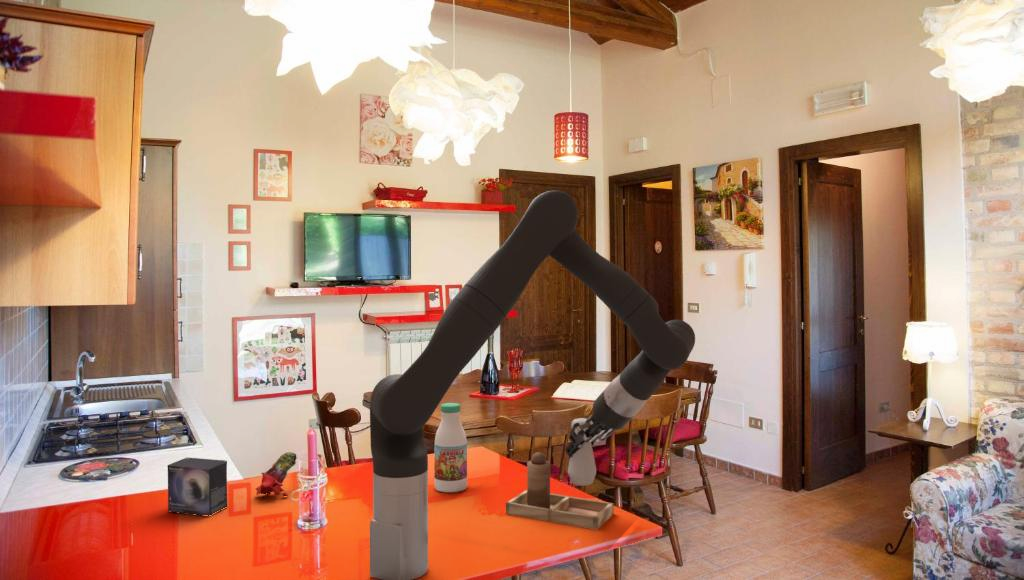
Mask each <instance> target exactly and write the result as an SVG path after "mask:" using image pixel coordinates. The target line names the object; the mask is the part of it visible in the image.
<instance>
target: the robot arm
mask: <svg viewBox="0 0 1024 580" xmlns="http://www.w3.org/2000/svg"><path fill="white" fill-rule="evenodd" d="M578 211H579V209H578V207H577V203H576V202H575V200H574V198H573V197H572V196H571V195H570V194H568V193H567V192H565V191H562V190H554V189H553V190H549V191H548V190H547V191H545V192H543V193H539V195H537V196H536V197H535V198H533V200H532V201H531V202H530V204H529V205H528V208H527V210H526V211H525V213H524V214H523V215H522V217H521V219H520V220H519V222H518V224H516V227H515V228H514V230H513V231H511V234H510V235H509V236H508V237H507V239H506V240H505V241H504V243H503V244H501V246H500V247H499V248H498V249H497V250H496V251H495V252H494V253H493V254H491V256H490V257H489V258H488V259H487V260H486V261H485V262H484V263H483V264H481V266H480V267H479V269H477V271H475V272H474V274H473V275H472V276H471V277H469V280H468V281H467V282H465V284H464V285H463V286H462V288H461V289H460V290H459V291H458V293H457V294H455V296H454V297H453V298H452V300H451V301H450V303H449V304H448V305H447V306H446V307H445V310H444V312H443V313H442V315H441V316H440V317H441V318H440V319H439V321H438V323H437V325H436V327H435V330H434V332H433V334H432V336H431V337H430V340H429V341H428V344H427V345H426V347H425V348H424V349H423V351H422V353H421V354H420V355H419V356H418V357H417V358H416V360H414V362H413V363H411V365H410V366H409V367H408V368H407V369H406V370H405V371H404V372H403V374H400V373H399V374H398V373H395V374H390V375H387V376H385V377H384V378H382V379H380V380H379V381H378V382H377V383H376V384H375V386H374V388H373V389H372V392H371V395H370V401H369V424H370V425H369V431H370V436H369V437H370V452H371V457H372V466H373V467H372V515H373V516H372V519H371V520H370V522H369V577H371V578H373V579H379V580H414V579H418V578H420V577H423V576H424V575H426V573H427V572H428V570H429V459H428V458H429V456H428V452H427V448H426V445H425V439H424V426H425V425H426V424H427V422H429V420H430V419H431V417H432V416H433V414H434V412H435V411H436V409H437V408H438V407H439V405H440V402H441V401H442V400H443V398H444V397H445V394H446V393H447V392H448V390H449V389H450V387H451V386H452V384H453V382H454V381H455V380H456V379H457V377H458V376H459V374H460V373H461V372H462V371H463V370H464V369H465V368H466V367H467V365H468V364H469V362H471V361H472V359H474V357H475V356H476V355H477V354H478V352H479V351H480V350H481V349H482V348H483V346H484V344H485V343H486V342H487V341H488V340H489V339H490V338H491V337H492V335H493V334H494V333H495V332H496V331H497V329H498V328H499V326H500V325H501V324H502V323H503V321H504V320H505V319H506V318H507V316H508V315H510V312H511V311H512V309H513V308H514V306H516V303H517V302H518V301H519V299H520V297H521V296H522V294H523V293H524V290H525V289H526V288H527V286H528V283H529V282H530V280H531V278H533V276H534V274H535V272H536V271H537V269H538V268H539V267H540V266H541V264H542V263H543V262H544V261H545V259H546V258H548V256H549V257H550V258H552V259H553V260H555V261H556V262H557V263H559V264H560V265H562V267H564V268H565V269H566V270H567V271H569V272H570V273H571V274H572V275H574V276H575V277H576V278H577V279H578V280H579V281H580V282H581V283H582V284H584V285H585V286H586V287H587V288H588V289H589V290H591V292H592V293H593V294H595V296H596V297H597V298H598V299H599V300H600V301H601V302H602V303H604V305H605V306H606V307H607V309H609V310H610V311H611V312H612V313H613V314H614V315H615V316H616V317H617V318H618V319H619V320H620V321H621V322H622V323H623V324H624V325H626V327H627V328H628V329H629V331H630V333H631V334H632V336H633V338H634V339H635V341H636V342H637V344H638V345H639V346H640V348H641V351H640V353H638V354H637V355H636V356H635V357H634V358H633V360H631V361H630V362H629V363H628V364H627V365H626V366H625V368H624V369H623V370H622V371H621V372H620V373H619V374H618V375H617V376H616V377H615V378H614V379H612V381H610V383H609V384H608V385H607V386H606V387H605V388H604V390H603V391H602V392H600V394H599V395H598V397H597V398H596V399H595V400H594V401H593V403H592V414H590V415H589V416H588V417H587V418H586V419H587V420H586V422H585V423H584V424H583V425H581V426H580V424H579V423H575V424H574V425H573V428H571V431H570V432H569V435H568V440H569V441H570V443H569V444H568V445H566V447H565V449H564V450H565V453H566V454H567V456H568V457H569V458H570V457H572V455H573V454H575V453H576V451H578V450H579V449H581V448H582V447H583V446H584V445H585V444H586V443H587V442H591V445H592V447H593V446H594V445H596V444H598V443H599V442H600V441H601V442H603V441H605V440H606V439H607V438H608V437H610V436H611V435H613V434H614V433H615V432H616V431H618V430H622V429H624V427H625V426H627V424H628V423H630V421H631V420H632V419H633V418H634V417H635V415H637V413H639V412H640V410H642V408H643V407H644V406H645V404H646V403H647V402H648V400H649V399H650V398H651V397H652V396H653V395H654V393H655V392H657V391H658V389H659V388H660V387H661V386H662V385H663V383H664V382H665V380H666V378H667V376H668V375H669V374H670V372H672V371H674V370H678V369H680V368H681V367H683V365H685V364H686V362H688V359H689V357H690V355H691V352H692V351H693V349H694V347H695V344H696V334H695V330H694V329H693V328H692V326H691V325H690V324H689V323H688V322H687V321H684V320H681V319H670V320H668V321H666V322H665V321H664V319H663V318H662V317H661V315H660V314H659V313H660V312H659V304H658V302H657V301H656V299H655V298H654V297H653V295H651V294H650V293H649V292H648V291H647V290H646V289H645V288H644V287H643V285H641V284H640V282H638V281H637V280H636V279H635V278H634V277H633V276H632V275H631V274H629V273H628V272H627V271H626V270H624V269H622V268H621V267H620V266H618V265H617V264H615V263H613V262H612V261H610V260H608V259H607V258H605V257H604V256H603V255H601V254H600V253H598V252H597V251H596V250H595V249H593V248H592V246H591V245H589V244H588V242H586V241H585V240H584V238H582V237H583V236H581V235H580V234H579V232H578V231H577V229H576V228H577V226H578V225H577V224H578V222H579V221H578V220H579V212H578ZM446 395H447V394H446ZM589 435H590V436H589ZM583 438H584V440H583V441H582V439H583Z"/></svg>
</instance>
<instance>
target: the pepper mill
mask: <svg viewBox="0 0 1024 580" xmlns="http://www.w3.org/2000/svg"><path fill="white" fill-rule="evenodd" d="M526 465H527V466H526V469H527V470H526V471H527V472H526V474H527V477H526V479H527V480H526V481H527V484H526V485H527V486H526V490H527V505H530V506H536V507H542V508H548V509H550V493H551V462H550V461H549V460H547V457H546V455H545V453H543V452H540V451H536V452H534V453H533V454H532V455H531V458H530V460H528V461H527V462H526Z"/></svg>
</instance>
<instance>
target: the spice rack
mask: <svg viewBox="0 0 1024 580" xmlns="http://www.w3.org/2000/svg"><path fill="white" fill-rule="evenodd" d="M614 506H615V505H614V503H613V502H607V501H602V500H601V501H600V500H594V499H589V498H583V497H576V496H569V495H565V494H559V493H558V494H557V493H551V492H550V509H548V508H542V507H536V506H530V505H527V489H526V490H524V491H523V492H521V493H519V494H517V495H516V496H514V497H512V498H511V499H510V500H508V501H506V502H505V514H507V515H512V516H518V517H524V518H529V519H534V520H540V521H546V522H551V523H557V524H562V525H563V524H564V525H567V526H572V527H573V526H574V527H580V528H585V529H590V530H598V529H599V528H601V527H602V526H603V525H604V524H605V523H606V522H607V521H608V520H609V519H610V518H611V517H612V516H613V515H614Z"/></svg>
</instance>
